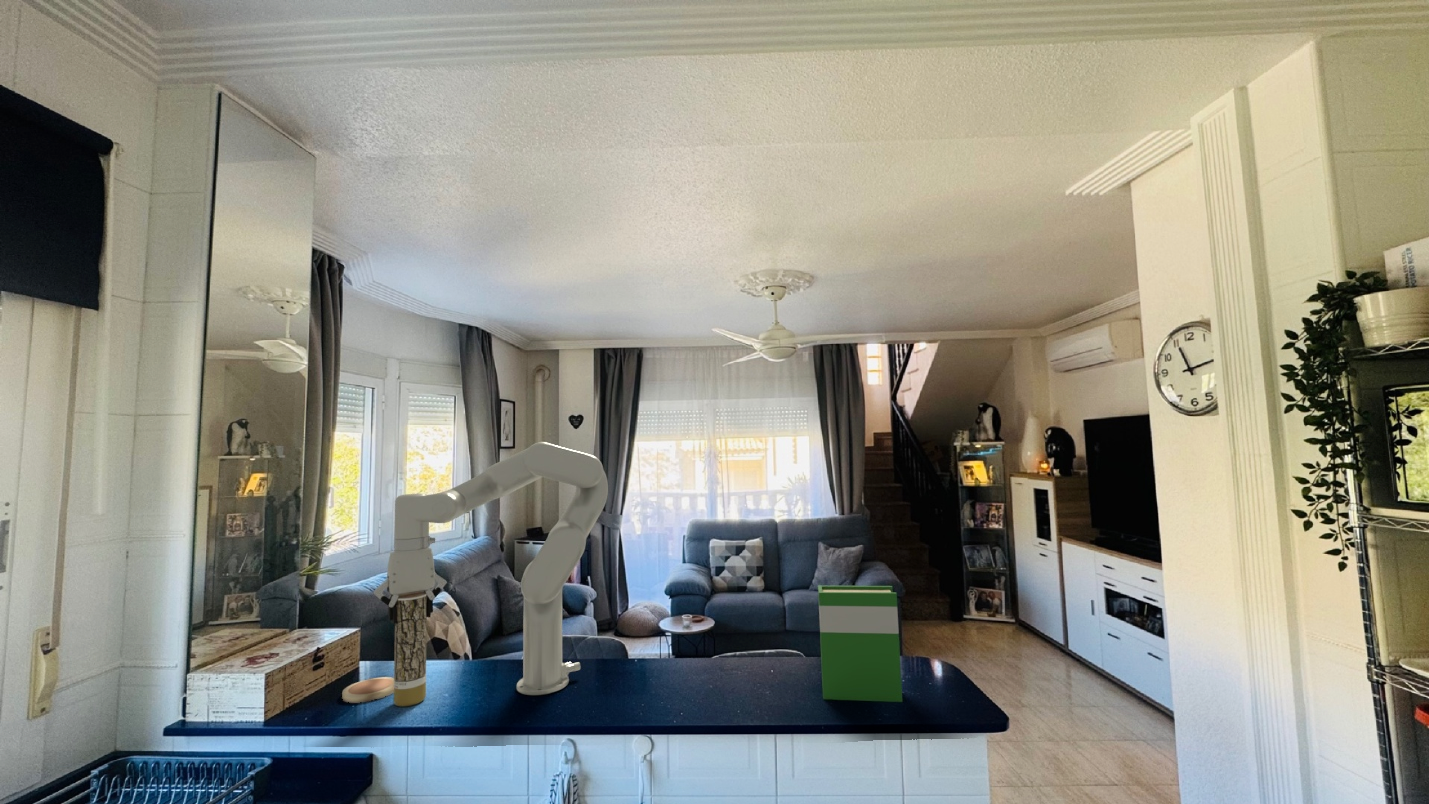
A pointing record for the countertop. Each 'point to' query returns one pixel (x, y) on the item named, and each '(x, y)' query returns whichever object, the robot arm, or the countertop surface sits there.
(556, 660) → the robot arm
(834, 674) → the hardback book
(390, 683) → the plate
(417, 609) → the paper tube
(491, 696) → the countertop surface
